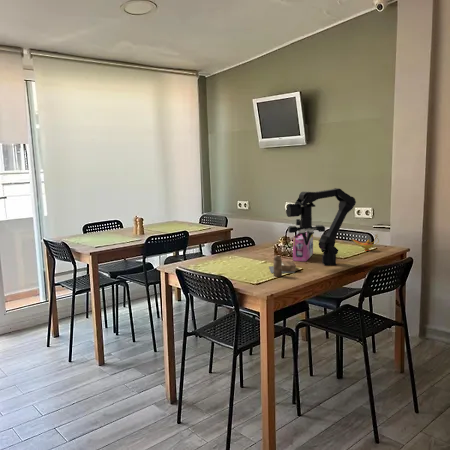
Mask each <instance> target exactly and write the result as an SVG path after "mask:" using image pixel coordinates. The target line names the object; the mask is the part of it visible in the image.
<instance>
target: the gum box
mask: <svg viewBox="0 0 450 450" xmlns="http://www.w3.org/2000/svg"><path fill="white" fill-rule="evenodd" d="M305 233H306V239H307V231H305ZM292 240H293V241H292V261H293V262H307V261H308V260H309V259H310V258H311V256H312V255H313V254H314V234H312V235H311V237H310V239H309V242H308V245H305V242H304V239H303V236H302V234H300V233H299V232H297V234H295V235H294V236H293V238H292Z"/></svg>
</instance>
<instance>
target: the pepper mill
mask: <svg viewBox="0 0 450 450" xmlns="http://www.w3.org/2000/svg"><path fill="white" fill-rule="evenodd" d="M282 261H283V260H282V257H281V255H275V256H274V257H273V266H274V274H273V277H274V276H275V277H274V278H276V277H277V278H279V277H280V278H281V277H282V276H283V273H282Z"/></svg>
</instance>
